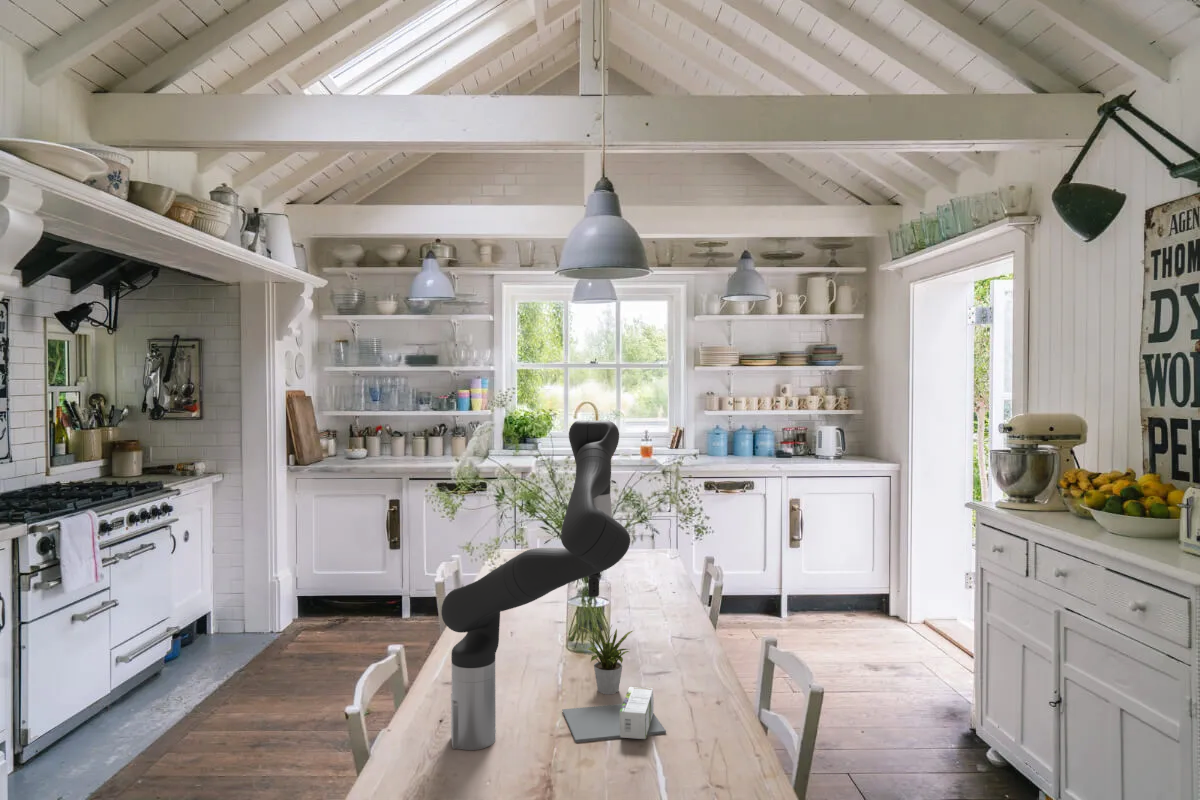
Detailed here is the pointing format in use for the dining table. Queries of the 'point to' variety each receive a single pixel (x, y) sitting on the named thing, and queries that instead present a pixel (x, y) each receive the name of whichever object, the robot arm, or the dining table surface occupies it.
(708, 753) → the dining table surface
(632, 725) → the syrup box
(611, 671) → the house plant
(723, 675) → the dining table surface
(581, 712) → the rubber mat
